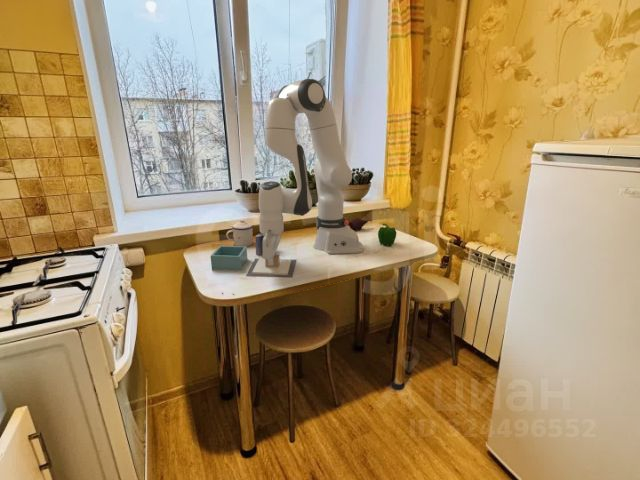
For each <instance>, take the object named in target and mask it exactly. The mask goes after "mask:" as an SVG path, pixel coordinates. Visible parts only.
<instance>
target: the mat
mask: <svg viewBox="0 0 640 480" xmlns="http://www.w3.org/2000/svg"><path fill="white" fill-rule="evenodd" d="M259 259H260V258H256V257H255V259H254V260H253V262H252V263H251V265H250V267H249V269H248V270H247V273H246V274H245V277H254V278H255V277H259V278H260V277H261V278H289V279H290V278H291V279H293V277H294V273H295V269H296V264H297V259H289V260H291V264H290V268H289V272H288V275H268V274H252V271H253V270H254V268H255V266H256V264H257V262H258V260H259Z"/></svg>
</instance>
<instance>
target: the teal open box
mask: <svg viewBox="0 0 640 480" xmlns="http://www.w3.org/2000/svg"><path fill="white" fill-rule="evenodd" d="M247 261H248V246H247V247H246V246H235V245H219V246H218V247H217V248H216V249H215V250H214V251H213V253H211V254H210V263H211V264H210V265H211V271H212V272H213V271H214V270H217V271H219V270H221V271H223V270H224V271H242V269H243V267H244V266H245V264H246V263H247Z"/></svg>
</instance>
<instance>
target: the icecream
mask: <svg viewBox="0 0 640 480" xmlns="http://www.w3.org/2000/svg"><path fill="white" fill-rule="evenodd" d="M348 222H349V224H348V225H347V226H348V227H350V228H351V229H352V230H353V231H357V230H358V231H361V230H362V229H363V227H364V226H365V225H366V224H367V223H368V222H369V220H364V219H360V218H358V217H355V218H353V219H352V220H351V221H349V220H348Z"/></svg>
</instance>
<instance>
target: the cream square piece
mask: <svg viewBox="0 0 640 480" xmlns="http://www.w3.org/2000/svg"><path fill="white" fill-rule="evenodd" d="M258 259H259V260H258V262H257V264H256V266H255V268H254V270H253V271H252V274H268V275H288V272H289V268H290V264H291V260H292V259H291V260H289V259H287V258H286V259H284V258H280V254H277V253H276V254H275V255H274V257H273V259H274V264H273V265H269V264H268V259H264V258H258Z"/></svg>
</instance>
